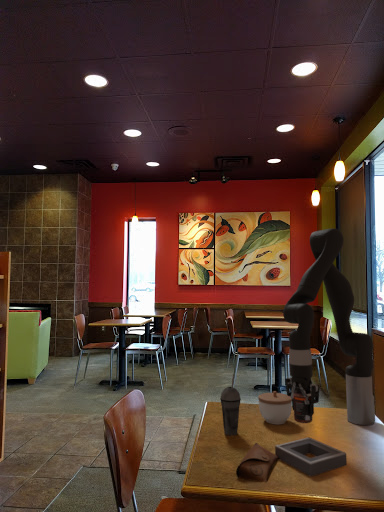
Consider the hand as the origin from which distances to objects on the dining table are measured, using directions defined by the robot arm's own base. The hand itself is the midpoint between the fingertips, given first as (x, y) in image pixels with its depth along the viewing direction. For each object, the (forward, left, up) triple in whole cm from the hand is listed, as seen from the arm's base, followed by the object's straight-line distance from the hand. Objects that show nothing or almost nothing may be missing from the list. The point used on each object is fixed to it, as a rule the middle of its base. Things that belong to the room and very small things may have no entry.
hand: (302, 412), depth 131 cm
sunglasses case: (+27, +9, -9) cm, 30 cm away
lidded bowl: (-4, -18, -9) cm, 20 cm away
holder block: (+11, +14, -8) cm, 20 cm away
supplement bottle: (0, 0, -3) cm, 3 cm away
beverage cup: (+18, -16, -9) cm, 26 cm away
